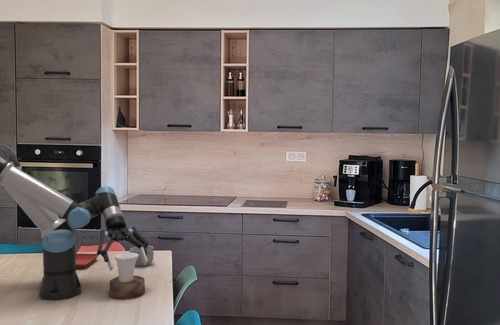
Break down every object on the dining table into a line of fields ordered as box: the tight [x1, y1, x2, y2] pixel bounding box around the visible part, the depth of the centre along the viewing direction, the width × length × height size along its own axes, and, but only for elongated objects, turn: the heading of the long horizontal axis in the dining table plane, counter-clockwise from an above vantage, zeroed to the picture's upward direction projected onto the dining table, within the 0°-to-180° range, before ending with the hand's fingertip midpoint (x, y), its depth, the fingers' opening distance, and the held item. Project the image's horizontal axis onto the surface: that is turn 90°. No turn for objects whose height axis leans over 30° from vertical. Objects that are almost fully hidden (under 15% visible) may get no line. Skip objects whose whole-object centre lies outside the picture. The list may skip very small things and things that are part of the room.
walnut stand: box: [109, 275, 146, 300], centre depth 191 cm, size 13×13×5 cm
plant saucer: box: [76, 253, 100, 270], centre depth 232 cm, size 18×18×3 cm
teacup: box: [129, 245, 154, 267], centre depth 233 cm, size 14×11×8 cm
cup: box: [114, 251, 139, 282], centre depth 191 cm, size 9×9×10 cm
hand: (129, 265), depth 189 cm, fingers open, 13 cm apart
